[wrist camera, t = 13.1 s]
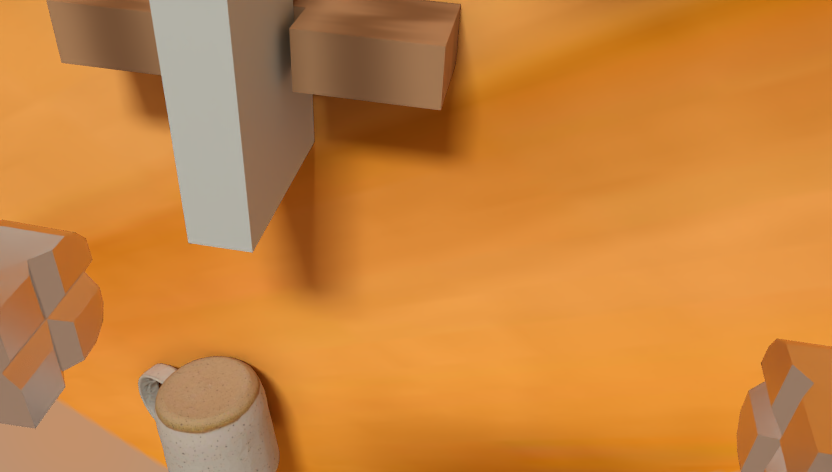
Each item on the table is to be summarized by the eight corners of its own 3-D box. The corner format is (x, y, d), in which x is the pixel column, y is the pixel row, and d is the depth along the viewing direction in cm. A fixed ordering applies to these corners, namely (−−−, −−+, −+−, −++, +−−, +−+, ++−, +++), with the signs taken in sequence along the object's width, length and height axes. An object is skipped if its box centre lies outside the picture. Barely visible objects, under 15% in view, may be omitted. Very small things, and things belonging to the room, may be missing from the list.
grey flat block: (238, -142, 35) (136, -81, 27) (304, -136, 34) (219, -72, 27) (261, 134, 43) (188, 242, 35) (314, 141, 43) (252, 252, 35)
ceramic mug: (275, 352, 54) (233, 441, 48) (294, 431, 58) (258, 521, 52) (134, 339, 56) (76, 422, 50) (163, 416, 60) (114, 501, 54)
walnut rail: (460, 4, 37) (445, 46, 33) (455, 63, 39) (440, 110, 35) (101, -36, 39) (46, 0, 35) (112, 22, 41) (61, 62, 37)
